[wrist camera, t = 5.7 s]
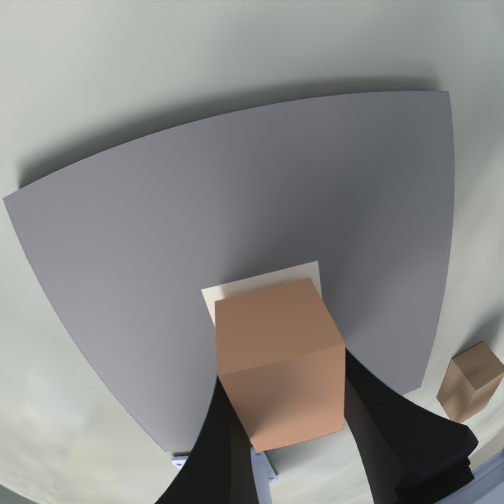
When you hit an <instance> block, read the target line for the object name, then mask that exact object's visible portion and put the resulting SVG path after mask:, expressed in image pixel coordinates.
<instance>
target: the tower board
mask: <svg viewBox="0 0 504 504" xmlns="http://www.w3.org/2000/svg"><path fill="white" fill-rule="evenodd" d="M3 200H4V203H5V206H6V209H7V211H8V214H9V217H10V219H11V222H12V224H13V227H14V229H15V232H16V234H17V236H18V239H19V241H20V243H21V246H22V248H23V250H24V252H25V255H26V257H27V259H28V261H29V263H30V265H31V267H32V269H33V271H34V273H35V275H36V277H37V279H38V281H39V283H40V285H41V287H42V289H43V291H44V292H45V294H46V296H47V298H48V300H49V301H50V303H51V305H52V307H53V308H54V310H55V312H56V314H57V315H58V317H59V319H60V320H61V322H62V323H63V325H64V327H65V328H66V330H67V331H68V333H69V335H70V336H71V338H72V339H73V341H74V342H75V344H76V345H77V347H78V348H79V350H80V351H81V353H82V354H83V355H84V357H85V358H86V360H87V361H88V363H89V364H90V365H91V367H92V368H93V369H94V371H95V372H96V373H97V375H98V376H99V377H100V379H101V380H102V381H103V383H104V384H105V385H106V386H107V388H108V389H109V390H110V392H111V393H112V394H113V395H114V396H115V398H116V399H117V400H118V401H119V403H120V404H121V405H122V406H123V407H124V408H125V410H126V411H127V412H128V413H129V414H130V415H131V416H132V418H133V419H134V420H135V421H136V422H137V423H138V424H139V425H140V426H141V428H142V429H143V430H144V431H145V432H146V433H147V434H148V435H149V436H150V437H151V438H152V439H153V440H154V441H155V442H156V443H157V444H158V445H159V446H160V447H161V448H162V449H163V450H164V451H180V450H191V449H192V448H193V446H194V444H195V442H196V440H197V438H198V436H199V433H200V431H201V428H202V426H203V423H204V420H205V418H206V415H207V412H208V409H209V405H210V402H211V399H212V395H213V391H214V387H215V383H216V377H217V373H218V372H217V353H216V330H215V302H214V301H217V300H222V299H226V298H230V297H234V296H239V295H243V294H247V293H251V292H255V291H259V290H263V289H267V288H271V287H275V286H279V285H283V284H287V283H290V282H294V281H298V280H302V279H306V278H309V277H310V279H311V280H312V282H313V284H314V286H315V288H316V289H317V291H318V293H319V295H320V297H321V299H322V300H323V302H324V304H325V306H326V308H327V310H328V311H329V313H330V315H331V317H332V319H333V321H334V323H335V324H336V326H337V328H338V330H339V332H340V334H341V336H342V338H343V340H344V341H345V347H346V348H347V349H348V350H349V351H350V352H351V353H352V354H353V355H354V357H355V358H356V359H357V360H358V361H360V362H361V363H362V364H363V365H364V366H365V367H366V368H367V369H368V370H369V371H370V372H371V373H373V374H374V375H375V376H376V377H377V378H378V379H380V380H381V381H382V382H383V383H385V384H386V385H387V386H389V387H390V388H391V389H393V390H394V391H395V392H397V393H398V394H400V395H404V394H406V393H408V392H410V391H413V390H415V389H417V388H419V387H420V386H421V383H422V380H423V377H424V374H425V371H426V367H427V364H428V360H429V357H430V353H431V349H432V346H433V342H434V338H435V334H436V329H437V325H438V320H439V316H440V311H441V306H442V301H443V295H444V290H445V284H446V277H447V271H448V263H449V255H450V246H451V236H452V224H453V207H454V147H453V130H452V118H451V108H450V99H449V92H448V91H385V92H366V93H353V94H342V95H332V96H323V97H315V98H307V99H300V100H293V101H287V102H281V103H275V104H269V105H264V106H259V107H254V108H249V109H244V110H239V111H235V112H230V113H226V114H221V115H217V116H213V117H209V118H205V119H201V120H197V121H194V122H190V123H186V124H183V125H179V126H176V127H173V128H169V129H166V130H163V131H159V132H156V133H153V134H150V135H147V136H144V137H141V138H138V139H135V140H132V141H129V142H127V143H124V144H121V145H118V146H116V147H113V148H110V149H108V150H105V151H102V152H100V153H97V154H95V155H92V156H90V157H87V158H85V159H83V160H80V161H78V162H76V163H73V164H71V165H69V166H67V167H64V168H62V169H60V170H58V171H56V172H53V173H51V174H49V175H47V176H45V177H43V178H41V179H39V180H37V181H35V182H33V183H31V184H29V185H27V186H25V187H23V188H21V189H19V190H17V191H16V192H14V193H12V194H10V195H8V196H6V197H5V198H3Z"/></svg>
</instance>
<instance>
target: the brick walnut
mask: <svg viewBox="0 0 504 504" xmlns="http://www.w3.org/2000/svg"><path fill="white" fill-rule="evenodd" d="M503 376H504V365H503V364H502V363H501V361H500V360H499V359H498V358H497V357H496V355H495V354H494V353H493V352H492V351H491V350H490V349H489V347H488V346H487V345H486V344H485V343H484V342H481V343H479V344H477V345H476V346H474V347H472V348H470V349H469V350H467V351H465V352H463V353H461V354H460V355H458V356H456V357H454V358H452V359H451V362H450V365H449V368H448V370H447V373H446V376H445V378H444V381H443V383H442V386H441V388H440V391H439V393H438V395H437V399H438V401H439V402H440V404H441V406H442V407H443V409H444V410H445V412H446V414H447V415H448V417H449V419H450V420H451V421H454V422H457V423H462V422H464V421H465V420H467V419H468V418H470V417H472V416H473V415H475V414H476V413H478V412H479V411H481V410H482V409H484V408H485V407H486V405H487V404H488V402H489V400H490V399H491V397H492V395H493V394H494V392H495V390H496V389H497V387H498V385H499V383H500V382H501V380H502V378H503Z"/></svg>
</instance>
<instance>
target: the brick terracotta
mask: <svg viewBox="0 0 504 504" xmlns="http://www.w3.org/2000/svg"><path fill="white" fill-rule="evenodd" d="M214 302H215V330H216V353H217V372H218V377H219V379H220V381H221V383H222V385H223V387H224V390H225V392H226V394H227V396H228V398H229V400H230V402H231V404H232V406H233V408H234V410H235V412H236V414H237V416H238V418H239V420H240V422H241V423H242V425H243V427H244V429H245V431H246V433H247V435H248V437H249V439H250V441H251V443H252V445H253V447H254V448H255V450H256V452H261V451H266V450H271V449H276V448H280V447H285V446H289V445H293V444H297V443H301V442H305V441H308V440H312V439H316V438H319V437H323V436H326V435H329V434H332V433H336V432H339V431H342V430H343V426H344V390H345V341H344V340H343V338H342V336H341V334H340V332H339V330H338V328H337V326H336V324H335V323H334V321H333V319H332V317H331V315H330V313H329V311H328V310H327V308H326V306H325V304H324V302H323V300H322V299H321V297H320V295H319V293H318V291H317V289H316V288H315V286H314V284H313V282H312V280H311V279H310V277H309V278H306V279H302V280H298V281H294V282H290V283H287V284H283V285H279V286H275V287H271V288H267V289H263V290H259V291H255V292H251V293H247V294H243V295H239V296H234V297H230V298H226V299H222V300H217V301H214Z"/></svg>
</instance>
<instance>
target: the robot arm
mask: <svg viewBox="0 0 504 504" xmlns="http://www.w3.org/2000/svg"><path fill="white" fill-rule="evenodd" d="M344 417H345V419H346V421H347V423H348V425H349V428H350V430H351V432H352V434H353V436H354V439H355V441H356V444H357V447H358V450H359V453H360V456H361V459H362V462H363V465H364V468H365V472H366V475H367V478H368V482H369V485H370V489H371V493H372V496H373V500H374V504H504V448H503V449H502V450H501V451H500V452H499V453H497V454H496V455H494V456H493V457H492V458H490V459H489V460H488V461H486V462H485V463H484V464H482V465H481V466H479V467H478V468H476V469H475V470H473V471H472V472H471V470H470V468H469V466H468V465H470V461H469V459H468V456H469V455H470V454H471V453H472V452H473V451H474V449H475V448H476V447H477V445H478V442H479V441H478V440H477V438H476V436H475V435H474V433H473V432H472V431H471V430H470V429H469V427H468V426H467V425H463V424H460V423H457V422H454V421H451V420H448V419H446V418H443V417H441V416H439V415H436V414H434V413H432V412H430V411H428V410H426V409H424V408H422V407H420V406H418V405H416V404H414V403H413V402H411V401H409V400H408V399H406V398H404V397H403V396H401V395H400V394H398V393H397V392H395V391H394V390H393V389H391V388H390V387H389V386H387V385H386V384H385V383H383V382H382V381H381V380H380V379H378V378H377V377H376V376H375V375H374V374H373V373H371V372H370V371H369V370H368V369H367V368H366V367H365V366H364V365H363V364H362V363H361V362H360V361H358V360H357V359H356V358H355V357H354V355H353V354H352V353H351V352H350V351H349V350H348V349H347V348H346V347H345V390H344ZM171 462H172V463H173V464H174V465H175V466H176V467H177V468H179V469H180V471H179V473H178V474H177V476H176V477H175V479H174V480H173V481H172V483H171V484H170V486H169V487H168V488H167V490H166V491H165V492H164V493H163V495H162V496H161V497H160V498H159V499H158V500H157V501H156V503H155V504H272V499H271V493H270V488H269V483H272V482H276V481H277V477H276V475H275V473H274V471H273V469H272V467H271V465H270V463H269V461H268V459H267V457H266V455H265V453H264V451H261V452H256V450H255V448H254V447H250V439H249V437H248V435H247V433H246V431H245V429H244V427H243V425H242V423H241V422H240V420H239V418H238V416H237V414H236V412H235V410H234V408H233V406H232V404H231V402H230V400H229V398H228V396H227V394H226V392H225V390H224V387H223V385H222V383H221V381H220V379H219V377H218V373H217V377H216V383H215V387H214V391H213V395H212V399H211V402H210V405H209V409H208V412H207V415H206V418H205V420H204V423H203V426H202V428H201V431H200V433H199V436H198V438H197V440H196V442H195V444H194V446H193V448H192V450H191V452H190V454H189V456H179V457H172V458H171Z"/></svg>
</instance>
